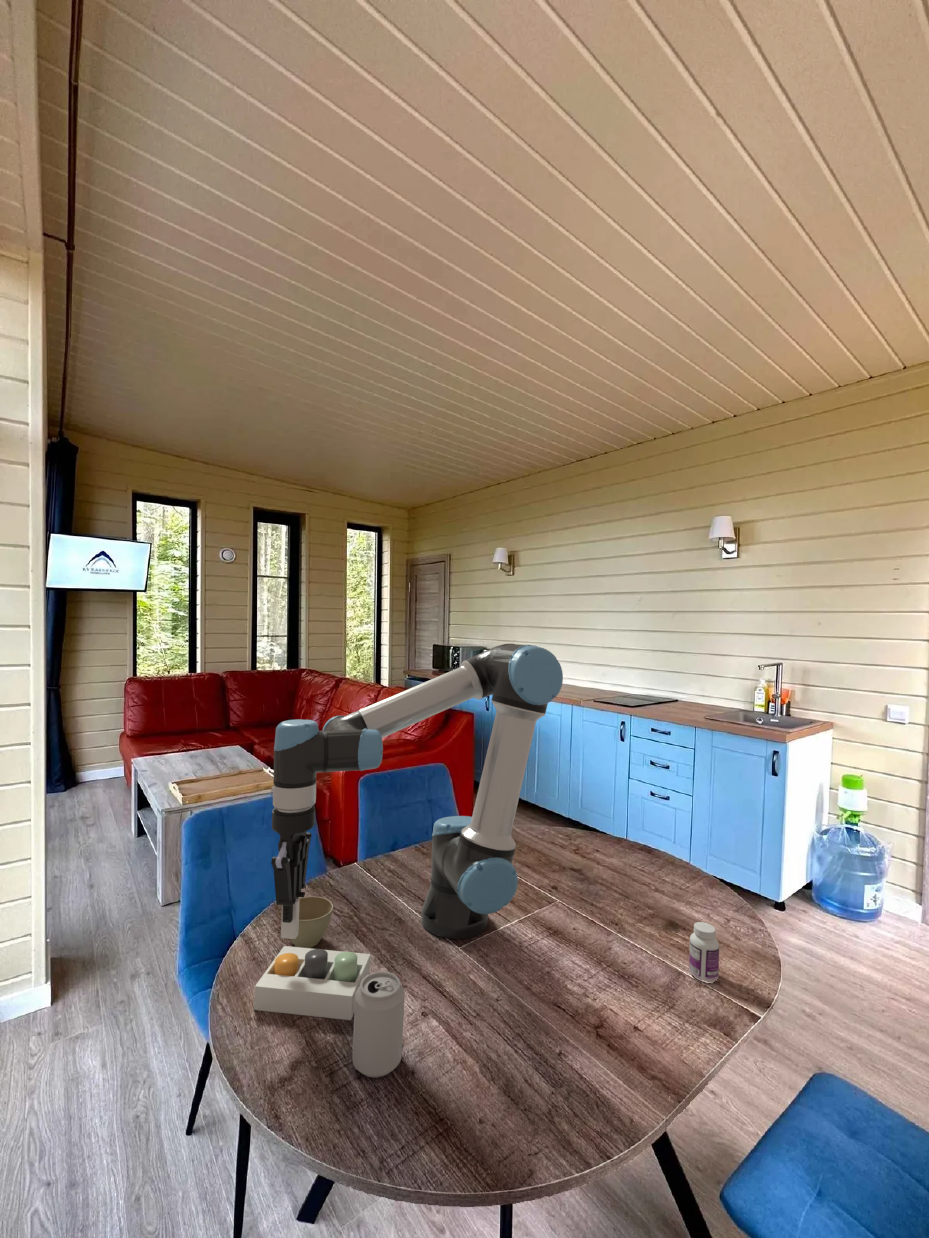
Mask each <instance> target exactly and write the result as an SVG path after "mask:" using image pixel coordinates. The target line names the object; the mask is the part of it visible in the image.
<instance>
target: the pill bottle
mask: <svg viewBox="0 0 929 1238" xmlns="http://www.w3.org/2000/svg"><path fill="white" fill-rule="evenodd" d="M716 935H717V930H716V928H715V926H713V925H712V924H710V923H707V922H703V921H698V922H695V923H694V924H693V932H692V933H691V934H690V937H689V954H688V955H689V960H688V961H689V962H688V963H689V964H688V971H690V972H689V974H690V973H691V974H692V975H694V976H695V977H696V978H698V979H700V980H704V981H707V982H713V981H715V980H717V979H718V980H719V972H720V970H719V969H720V966H719V965H720V963H719V962H720V943H719V941H718V939H717V938H716ZM691 974H690V975H691Z"/></svg>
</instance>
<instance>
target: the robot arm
mask: <svg viewBox="0 0 929 1238" xmlns="http://www.w3.org/2000/svg"><path fill="white" fill-rule="evenodd" d="M563 674H564V673H563V669H562V666H561V664H560V662H559V659H558V658H557V656H555V654H554V653H552V652H551V651H550V650H548V649H547V648H544V647H540V646H537V645H532V644H519V643H502V644H500V645H496V646H494V647H491V648H489V649H487V650H485V651H483V652H481V653H478V654H475V655H474V656H472V657H470V658H467V659H464V660H463V661H462V662H461V664H460V666H459V667H457V668H455V669H452V670H450V671H448V672H446V673H443V674H441V675H439V676H436V677H434V678H431V679H430V680H427V681H424V682H422V683H420V684H418V685H415V686H412V687H411V688H408V689H405V690H403V691H401V692H399V693H396V694H394V695H392V696H390V697H387V698H385V699H383V700H380V701H378V702H375V703H372V704H371V705H368V706H366V707H363V708H361V709H359V710H357V711H354V712H351V713H349V714H346V715H336V716H332V717H330V718H329V719H328V720H327V721H326V722H325V724H324V726H322V727H323V728H322V730H320V729H319V725H318V723H317V721H315V720H312V719H298V718H297V719H288V720H284V721H281V722H280V723H278V725H277V726H276V727H275V733H274V734H275V735H274V736H275V737H274V746H273V786H272V787H271V789H270V791H271V792H272V806H273V807H274V808H273V809H272V810H271V813H272V814H271V829H272V831H274V832H275V833H277V834H278V835H279V841H278V845H277V849H278V855H277V856H272V857H271V862H270V864H271V867H272V869H273V881H274V890H275V892H274V893H275V904H276V905H278V906H281V919H280V920H281V922H280V923H281V925H280V939H289V940H291V939H296V937H297V936H298V934H299V904H300V899H298V898H302V897H306V892H304V891H302V890H304V889H305V887H306V878H307V870H308V860H309V853H310V845H311V841H312V837H313V835H312V832H308V831H310V830H312V829H313V827H314V826H315V823H316V807H315V804H316V802H317V801H316V800H317V773H332V772H350V771H351V772H352V771H361V772H364V771H367V770H374V769H375V770H376V769H377V768H379V767H380V765H381V764H382V761H383V751H384V746H383V739H384V738H385V737H388V736H390V735H393V734H395V733H397V732H399V731H401V730H404V729H406V728H408V727H411V726H412V725H414V724H417V723H420V722H422V721H424V720H426V719H429V718H430V717H433V716H435V715H437V714H439V713H442V712H444V711H446V710H449V709H450V708H453V707H455V706H458V705H460V704H462V703H464V702H466V701H469V700H471V699H475V700H479V701H480V700H482V699H484V698H487V697H490V696H492V697H491V703H492V705H493V707H494V708H495V710H496V712H495V717H494V720H493V725H492V728H491V729H492V730H491V734H490V738H489V742H488V747H487V751H486V755H485V759H484V764H483V769H482V773H481V776H480V780H479V781H480V782H479V786H478V789H477V794H476V799H475V803H474V807H473V811H472V816H469V815H453V816H452V815H451V816H446V817H442V818H439V819H437V820H436V821H435V822H434V824H433V828H432V829H433V830H432V834H431V837H432V840H431V841H432V842H431V843H432V844H431V864H430V865H431V867H430V868H431V870H430V886H429V889H428V891H427V894H426V896H425V900H424V902H423V905H422V907H421V918H420V919H421V924H422V926H423V928H424V929H426V931H427V932H429V933H431V934H432V935H434V936H437V937H439V938H445V939H454V940H458V939H459V940H460V939H462V940H463V939H469V938H472V937H476V936H478V935H479V934H481V933H482V932H484V931H485V930H486V928H487V926H488V920H489V919H488V918H489V917H488V916H489V915H490V914H494V913H497V912H499V911H501V910H502V908H504V907H506V906H507V905H508V904H509V903H510V902H511V901H512V900H513V898H514V897H515V895H516V892H517V890H518V886H519V877H518V872H517V871H516V868H515V866H514V864H513V861H514V856H515V852H516V846H517V844H516V842H515V840H514V839H513V836H512V831H513V826H514V821H515V817H516V813H517V809H518V804H519V799H520V796H521V791H522V786H523V782H524V777H525V773H526V768H527V765H528V764H527V763H528V759H529V755H530V751H531V747H532V742H533V738H534V734H535V729H536V728H535V727H536V723H537V721H538V720H540V719H541V718H542V717H544V716H545V715H546V712H547V709H548V704H549V703H551V702H552V701H553V700H554V699H555V698H557V696H558V695H559V694H560V692H561V689H562V687H563V680H564V675H563Z"/></svg>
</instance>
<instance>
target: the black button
mask: <svg viewBox="0 0 929 1238" xmlns="http://www.w3.org/2000/svg"><path fill="white" fill-rule="evenodd" d="M313 949H314V950H311V951H309V952H307V953H306V955H305V967H304V977H305V978H314V979H324V980H325V978H326V976H327V961H328V953H327V951H325V950H326V949H322V948H313Z"/></svg>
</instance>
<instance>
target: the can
mask: <svg viewBox="0 0 929 1238" xmlns="http://www.w3.org/2000/svg"><path fill="white" fill-rule="evenodd" d="M404 989H405V988H404V987H403V986H402V982H401V979H400V978H399V977H398V976H397V975H396V974H394V973H393V972H389V971H374V972H371V973H369V975H367V976H366V977H364V978H363V979H362V981H361V983H360V987H359V988H358V989H357V991H356V994H355V1011H354V1014H353V1017H354V1018H353V1033H352V1034H353V1036H352V1037H353V1038H352V1054H351V1055H352V1058H351V1059H352V1064H353V1066H354V1068H355V1069H356V1071H358V1072H359V1073H361V1074H362V1075H363V1076H366V1077H368V1078H374V1079H375V1078H382V1077H384V1076H387V1075H389V1074H390V1073H391V1072H392V1071H393V1070H394V1069H396V1068H397V1067H398V1065H399V1064H400V1063H401V1060H402V1057H403V1056H402V1055H403V1037H404V1036H403V1035H404V1016H405V1014H404V1013H405V996H406V995H405V990H404Z"/></svg>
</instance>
